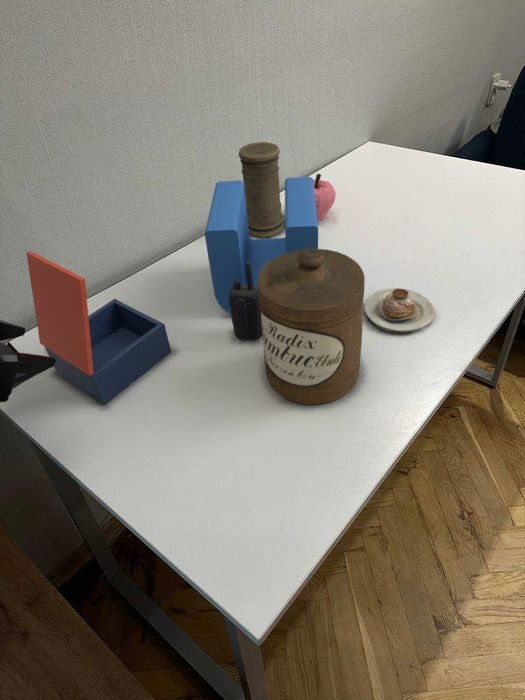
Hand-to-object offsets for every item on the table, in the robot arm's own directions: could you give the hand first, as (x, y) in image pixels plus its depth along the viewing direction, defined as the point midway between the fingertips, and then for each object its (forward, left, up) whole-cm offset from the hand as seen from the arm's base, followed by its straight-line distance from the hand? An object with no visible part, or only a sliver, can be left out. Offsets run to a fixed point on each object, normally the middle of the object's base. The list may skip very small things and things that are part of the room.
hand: (39, 346), depth 69 cm
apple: (+54, +44, -14) cm, 71 cm away
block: (+37, +21, -14) cm, 45 cm away
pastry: (+57, +6, -14) cm, 59 cm away
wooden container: (+38, -3, -14) cm, 40 cm away
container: (+42, +44, -14) cm, 62 cm away
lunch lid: (+3, +6, 0) cm, 7 cm away
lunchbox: (+7, +9, -14) cm, 18 cm away
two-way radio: (+30, +8, -14) cm, 34 cm away
